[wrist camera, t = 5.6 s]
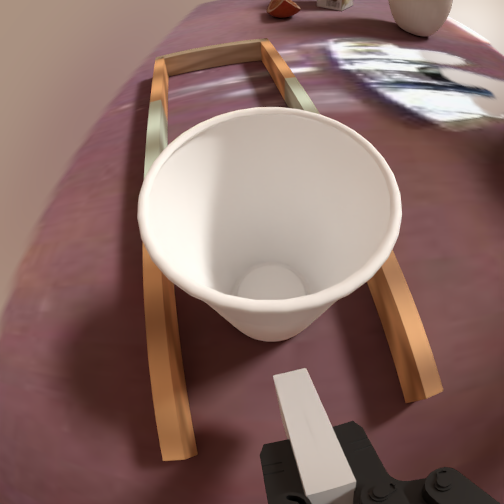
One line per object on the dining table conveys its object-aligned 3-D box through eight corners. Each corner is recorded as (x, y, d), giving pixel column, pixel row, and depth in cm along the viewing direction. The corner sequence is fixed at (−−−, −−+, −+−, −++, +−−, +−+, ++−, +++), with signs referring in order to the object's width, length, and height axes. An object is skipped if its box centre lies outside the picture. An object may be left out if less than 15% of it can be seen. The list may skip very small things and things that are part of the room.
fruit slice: (265, 12, 52) (264, -8, 48) (297, 11, 52) (297, -8, 48) (268, 22, 48) (267, 0, 44) (303, 22, 48) (304, 0, 43)
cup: (174, 344, 19) (89, 261, 10) (227, 221, 24) (202, 96, 15) (325, 390, 17) (388, 350, 8) (357, 253, 22) (402, 131, 13)
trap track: (421, 396, 16) (443, 390, 14) (178, 456, 16) (162, 460, 13) (268, 56, 39) (267, 38, 36) (160, 74, 38) (155, 57, 35)
